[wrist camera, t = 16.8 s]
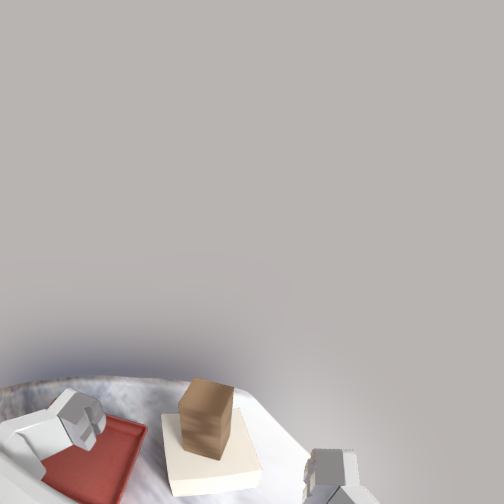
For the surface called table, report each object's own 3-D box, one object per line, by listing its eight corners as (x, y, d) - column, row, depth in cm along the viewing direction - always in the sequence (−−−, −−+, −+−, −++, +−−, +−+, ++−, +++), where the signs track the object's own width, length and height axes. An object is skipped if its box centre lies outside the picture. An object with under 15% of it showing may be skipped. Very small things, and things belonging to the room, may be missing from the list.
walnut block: (183, 450, 32) (178, 403, 29) (196, 425, 37) (194, 377, 34) (219, 461, 31) (221, 415, 28) (230, 435, 36) (233, 387, 33)
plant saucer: (16, 476, 22) (6, 465, 21) (61, 407, 40) (56, 394, 39) (119, 526, 22) (113, 519, 21) (152, 437, 39) (149, 425, 38)
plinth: (173, 497, 29) (169, 480, 27) (164, 436, 40) (161, 413, 38) (257, 487, 33) (262, 469, 31) (236, 430, 44) (239, 408, 42)
